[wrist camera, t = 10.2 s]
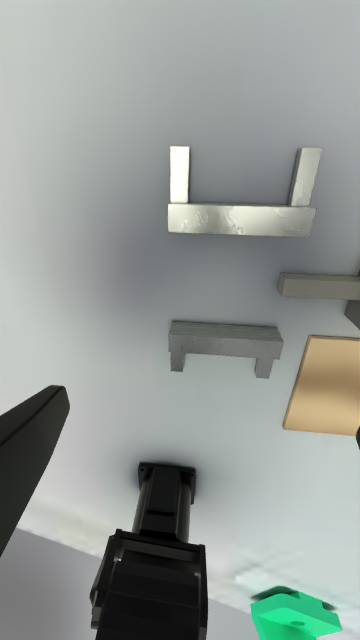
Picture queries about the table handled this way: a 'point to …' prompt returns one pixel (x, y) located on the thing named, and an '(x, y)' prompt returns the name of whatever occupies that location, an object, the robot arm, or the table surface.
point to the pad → (327, 388)
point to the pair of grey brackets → (239, 222)
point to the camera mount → (293, 617)
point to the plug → (324, 290)
